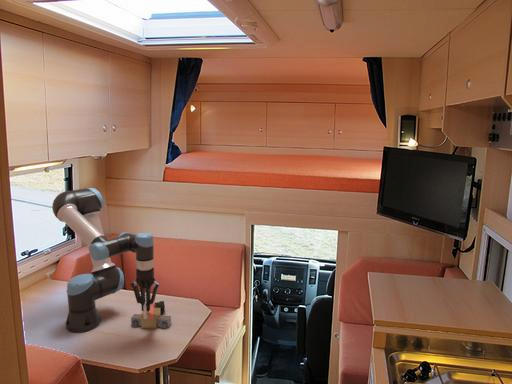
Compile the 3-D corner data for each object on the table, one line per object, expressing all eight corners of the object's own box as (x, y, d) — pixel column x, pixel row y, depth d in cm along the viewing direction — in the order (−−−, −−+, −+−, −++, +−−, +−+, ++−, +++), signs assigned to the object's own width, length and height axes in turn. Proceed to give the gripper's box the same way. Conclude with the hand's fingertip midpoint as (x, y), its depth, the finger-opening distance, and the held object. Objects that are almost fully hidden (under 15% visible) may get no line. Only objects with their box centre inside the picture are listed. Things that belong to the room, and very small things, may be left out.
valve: (130, 327, 190) (129, 309, 188) (135, 320, 196) (134, 302, 195) (167, 329, 188) (167, 311, 187) (171, 321, 195) (171, 304, 194)
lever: (146, 305, 192) (146, 302, 192) (154, 304, 193) (154, 301, 193) (146, 319, 179) (146, 316, 178) (155, 318, 180) (155, 315, 180)
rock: (150, 321, 195) (149, 310, 194) (145, 312, 204) (145, 301, 203) (168, 317, 199) (168, 306, 198) (162, 309, 208) (162, 298, 207)
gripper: (127, 270, 174) (129, 320, 179) (156, 271, 174) (157, 322, 178) (134, 264, 182) (135, 312, 186) (161, 265, 181) (162, 314, 185)
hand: (146, 317), depth 182 cm, fingers closed
